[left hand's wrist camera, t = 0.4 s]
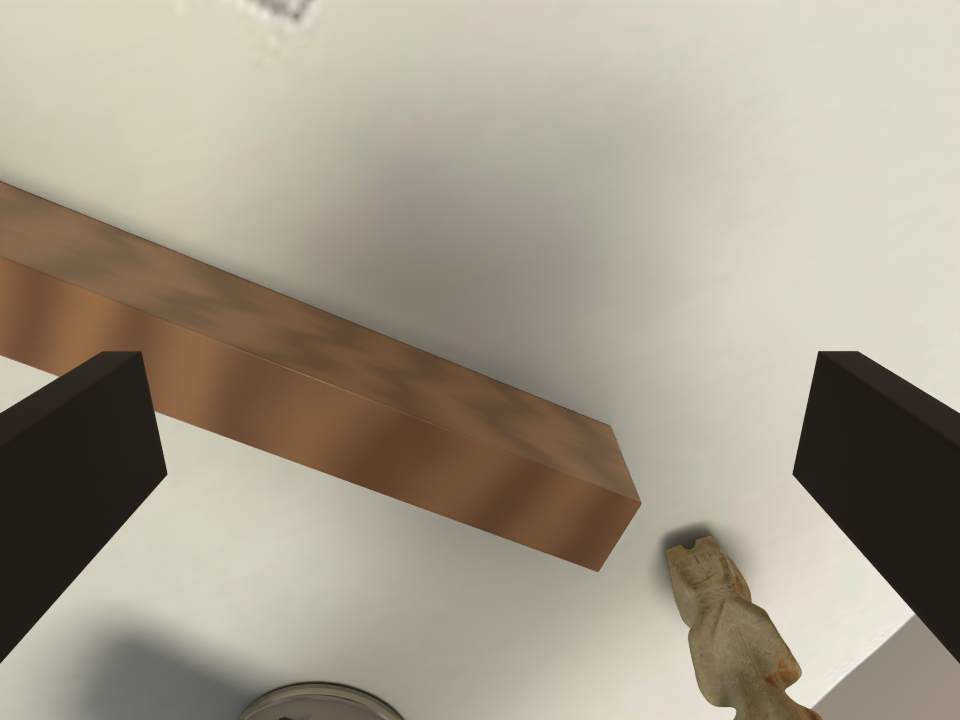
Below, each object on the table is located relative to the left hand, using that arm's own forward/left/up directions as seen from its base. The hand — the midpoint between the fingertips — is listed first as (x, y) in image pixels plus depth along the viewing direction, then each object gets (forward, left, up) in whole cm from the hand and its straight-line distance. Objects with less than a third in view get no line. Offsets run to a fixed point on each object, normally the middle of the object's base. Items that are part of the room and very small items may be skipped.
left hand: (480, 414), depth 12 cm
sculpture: (-14, -26, -25) cm, 39 cm away
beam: (-13, +11, -25) cm, 30 cm away
